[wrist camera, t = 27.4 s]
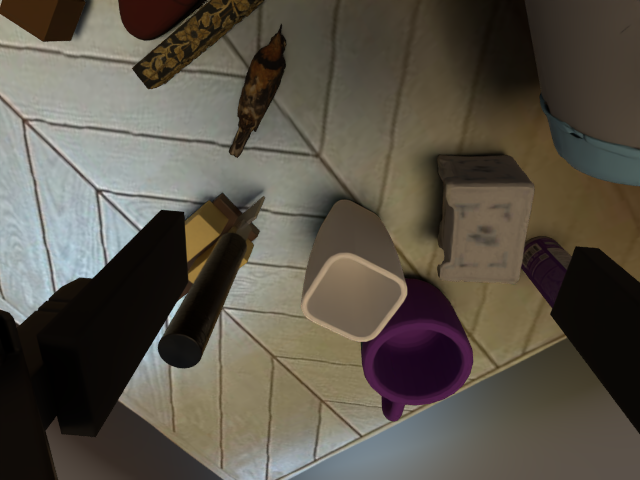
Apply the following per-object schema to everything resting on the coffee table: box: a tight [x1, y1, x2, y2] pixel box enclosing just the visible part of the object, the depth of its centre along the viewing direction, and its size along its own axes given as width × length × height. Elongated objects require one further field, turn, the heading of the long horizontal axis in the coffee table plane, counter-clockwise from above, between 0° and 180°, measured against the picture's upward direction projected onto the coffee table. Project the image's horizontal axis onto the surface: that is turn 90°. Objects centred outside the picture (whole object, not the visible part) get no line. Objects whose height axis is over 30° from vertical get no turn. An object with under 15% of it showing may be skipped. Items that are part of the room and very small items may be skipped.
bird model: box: [229, 24, 286, 158], centre depth 42 cm, size 3×14×3 cm, turn 151°
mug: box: [361, 278, 473, 421], centre depth 50 cm, size 17×11×10 cm, turn 170°
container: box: [521, 237, 572, 308], centre depth 43 cm, size 5×5×15 cm
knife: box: [158, 196, 265, 368], centre depth 36 cm, size 4×3×23 cm, turn 131°
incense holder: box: [437, 155, 535, 284], centre depth 42 cm, size 10×8×10 cm
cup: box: [301, 200, 407, 342], centre depth 42 cm, size 7×7×15 cm
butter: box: [185, 200, 254, 283], centre depth 47 cm, size 6×7×4 cm
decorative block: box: [132, 0, 264, 89], centre depth 39 cm, size 15×2×4 cm, turn 124°
